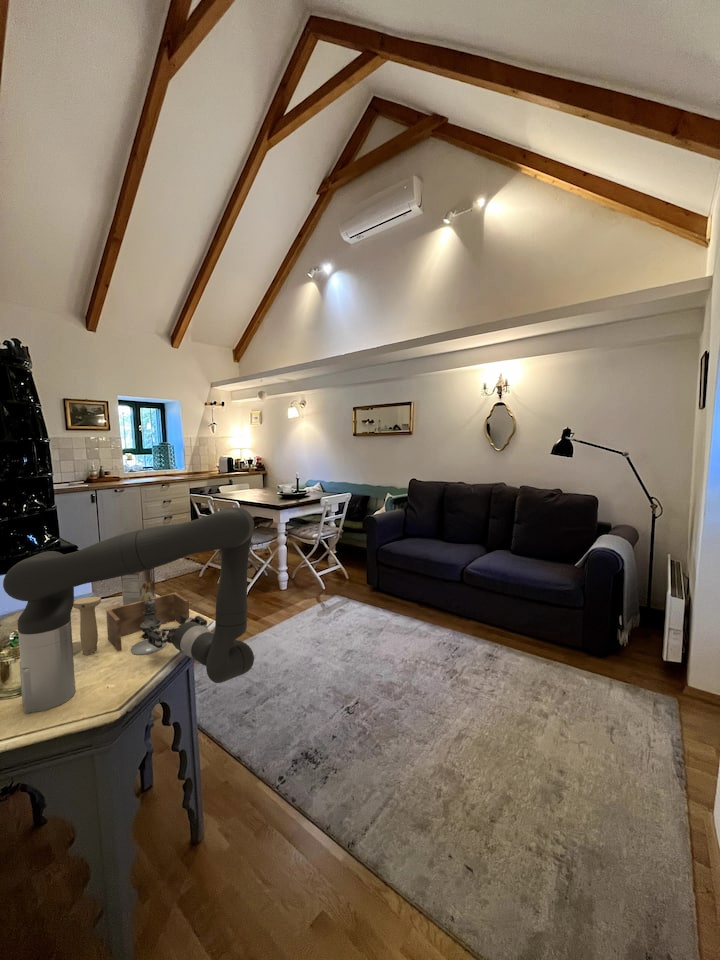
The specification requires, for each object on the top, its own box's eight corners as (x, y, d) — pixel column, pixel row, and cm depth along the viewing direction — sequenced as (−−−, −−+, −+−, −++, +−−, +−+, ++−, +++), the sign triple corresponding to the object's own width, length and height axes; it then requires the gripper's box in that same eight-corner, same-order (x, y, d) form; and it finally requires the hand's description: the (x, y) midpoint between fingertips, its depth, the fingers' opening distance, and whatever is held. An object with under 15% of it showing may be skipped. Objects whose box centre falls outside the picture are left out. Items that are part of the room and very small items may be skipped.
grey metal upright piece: (136, 636, 118) (134, 598, 117) (154, 629, 123) (152, 591, 122) (148, 641, 115) (146, 601, 114) (166, 632, 120) (164, 595, 120)
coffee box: (139, 609, 139) (136, 565, 138) (156, 609, 139) (154, 564, 138) (123, 620, 130) (120, 573, 129) (142, 620, 130) (139, 573, 129)
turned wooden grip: (80, 649, 111) (77, 598, 109) (106, 646, 112) (103, 596, 111) (72, 658, 106) (69, 604, 105) (99, 655, 107) (96, 602, 106)
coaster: (136, 658, 106) (136, 657, 106) (126, 647, 112) (126, 645, 112) (171, 646, 112) (171, 645, 112) (160, 636, 118) (160, 635, 118)
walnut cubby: (117, 651, 109) (115, 620, 109) (107, 639, 117) (106, 609, 116) (189, 628, 124) (188, 600, 123) (177, 618, 131) (175, 592, 130)
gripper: (219, 617, 107) (190, 603, 117) (166, 637, 96) (139, 619, 106) (220, 644, 107) (191, 627, 118) (168, 666, 96) (140, 646, 107)
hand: (166, 623), depth 112 cm, fingers open, 8 cm apart
